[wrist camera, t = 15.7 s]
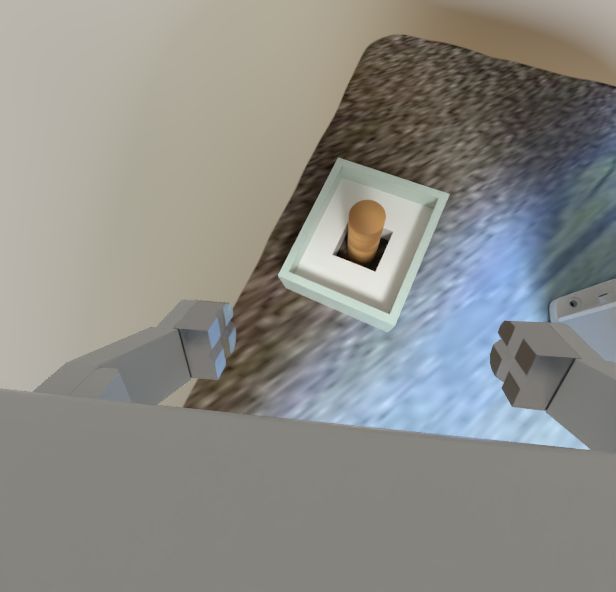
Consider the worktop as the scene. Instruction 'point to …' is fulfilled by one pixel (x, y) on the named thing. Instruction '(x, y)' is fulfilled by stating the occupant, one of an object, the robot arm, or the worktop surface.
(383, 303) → the bore box
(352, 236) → the peg
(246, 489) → the robot arm
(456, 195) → the worktop surface
